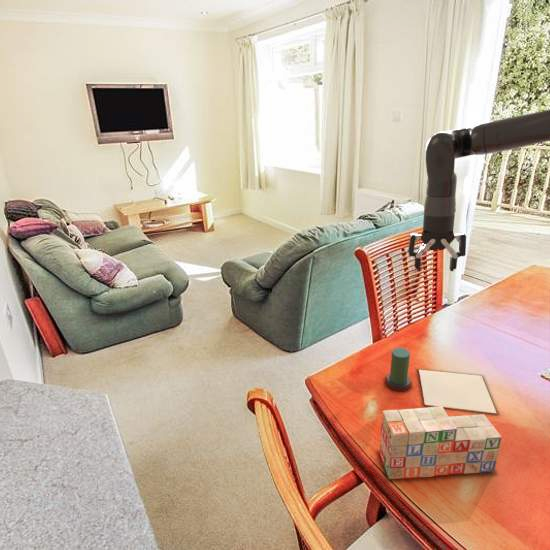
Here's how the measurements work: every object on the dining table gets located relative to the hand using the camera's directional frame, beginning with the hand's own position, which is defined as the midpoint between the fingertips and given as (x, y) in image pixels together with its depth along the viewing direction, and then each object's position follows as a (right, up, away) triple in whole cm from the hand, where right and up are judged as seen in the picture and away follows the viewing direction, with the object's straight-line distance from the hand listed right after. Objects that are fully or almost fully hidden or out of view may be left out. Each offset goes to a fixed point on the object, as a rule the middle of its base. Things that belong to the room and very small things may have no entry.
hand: (434, 270), depth 104 cm
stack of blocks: (-11, -41, -26) cm, 50 cm away
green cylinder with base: (-11, -31, -4) cm, 33 cm away
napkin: (+2, -31, -7) cm, 32 cm away
